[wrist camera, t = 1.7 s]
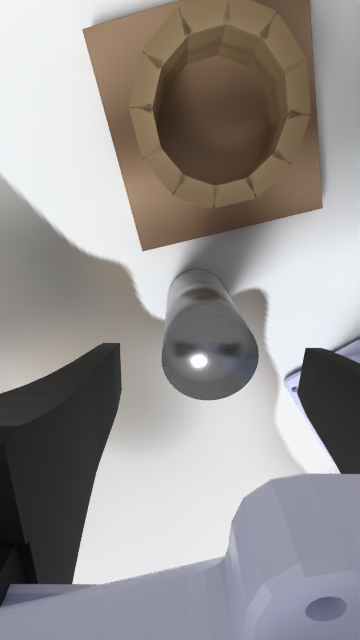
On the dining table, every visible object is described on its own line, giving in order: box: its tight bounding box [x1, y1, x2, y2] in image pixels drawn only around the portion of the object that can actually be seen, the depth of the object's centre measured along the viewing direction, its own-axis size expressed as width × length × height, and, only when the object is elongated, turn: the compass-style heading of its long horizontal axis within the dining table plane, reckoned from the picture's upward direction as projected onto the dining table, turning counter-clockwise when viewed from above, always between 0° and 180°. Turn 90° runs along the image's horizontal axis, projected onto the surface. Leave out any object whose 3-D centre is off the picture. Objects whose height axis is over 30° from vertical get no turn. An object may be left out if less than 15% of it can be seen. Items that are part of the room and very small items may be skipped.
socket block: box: [82, 0, 323, 251], centre depth 16 cm, size 11×11×4 cm
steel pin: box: [162, 270, 259, 400], centre depth 17 cm, size 4×4×9 cm
